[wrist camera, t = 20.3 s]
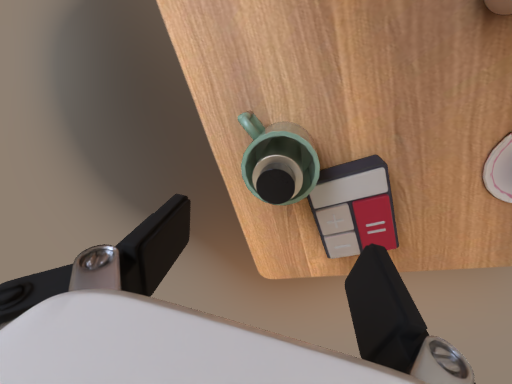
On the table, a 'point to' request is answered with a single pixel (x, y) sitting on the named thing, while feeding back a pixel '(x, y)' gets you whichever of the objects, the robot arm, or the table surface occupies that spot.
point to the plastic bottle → (499, 6)
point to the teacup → (500, 170)
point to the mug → (262, 139)
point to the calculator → (354, 207)
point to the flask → (279, 171)
